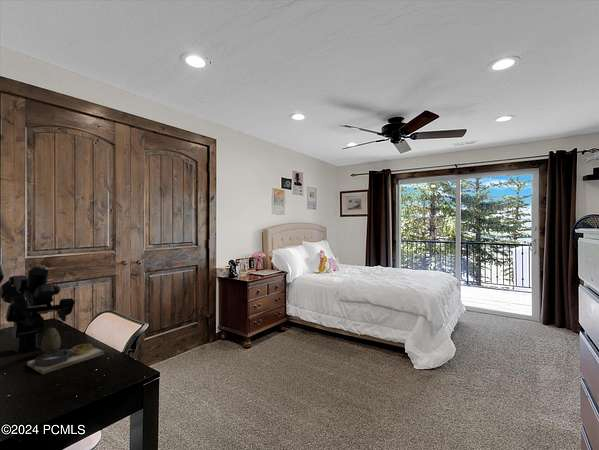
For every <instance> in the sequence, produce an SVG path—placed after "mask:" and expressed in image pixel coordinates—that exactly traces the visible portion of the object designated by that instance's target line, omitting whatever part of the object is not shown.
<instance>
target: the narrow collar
mask: <svg viewBox="0 0 599 450" xmlns="http://www.w3.org/2000/svg"><path fill="white" fill-rule="evenodd" d="M93 347H94V344H92V343H89V342H88V343H80V344H77V345H75V346H73V347H72V348H71V349H72V354H74V355H82V354H86V353H89V352H91V351H92V350H93Z"/></svg>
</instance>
